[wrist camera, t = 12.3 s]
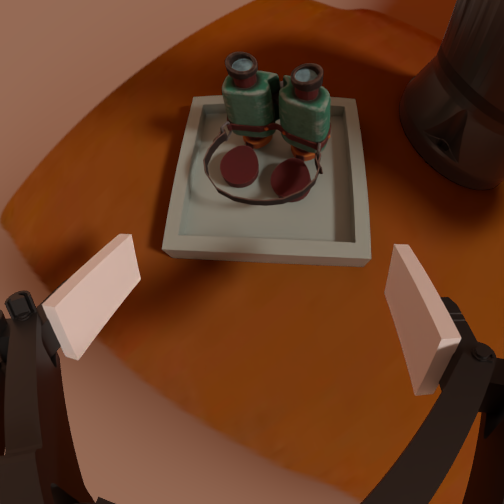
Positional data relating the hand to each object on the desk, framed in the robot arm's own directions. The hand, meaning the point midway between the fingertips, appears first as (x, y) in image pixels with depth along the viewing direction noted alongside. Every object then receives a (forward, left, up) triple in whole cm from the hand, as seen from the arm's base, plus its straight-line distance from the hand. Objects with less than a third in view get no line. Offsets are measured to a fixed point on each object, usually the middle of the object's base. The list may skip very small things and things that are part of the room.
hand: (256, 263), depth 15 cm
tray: (0, -11, -10) cm, 15 cm away
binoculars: (0, -11, -9) cm, 14 cm away
